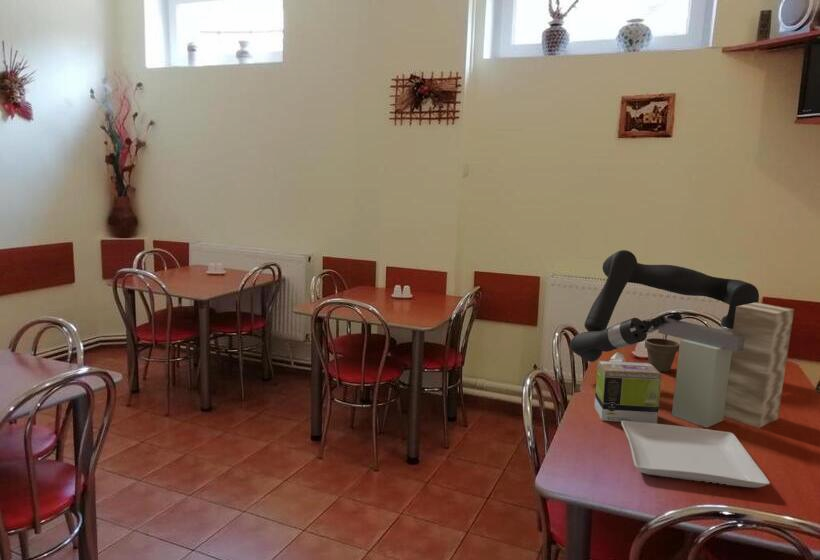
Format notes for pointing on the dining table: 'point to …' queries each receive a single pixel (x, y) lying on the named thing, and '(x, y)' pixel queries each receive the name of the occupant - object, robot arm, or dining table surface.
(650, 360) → the flower pot
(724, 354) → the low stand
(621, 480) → the dining table surface
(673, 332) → the metal bar
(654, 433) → the square plate
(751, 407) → the tall stand
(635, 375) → the tea box
